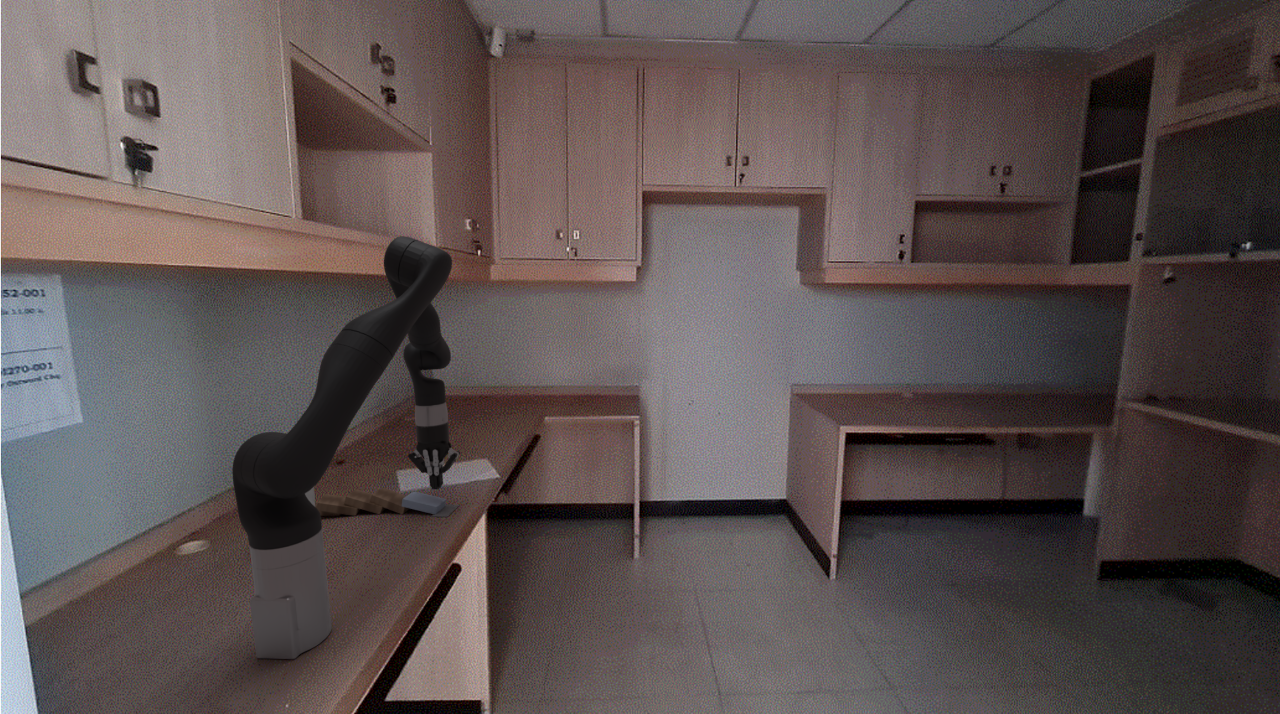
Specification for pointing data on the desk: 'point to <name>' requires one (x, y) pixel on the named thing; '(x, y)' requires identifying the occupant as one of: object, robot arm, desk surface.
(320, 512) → the tile
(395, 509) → the tile
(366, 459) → the desk surface
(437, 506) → the blue-grey rectangular block
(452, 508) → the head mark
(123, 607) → the desk surface
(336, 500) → the tile
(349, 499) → the tile
